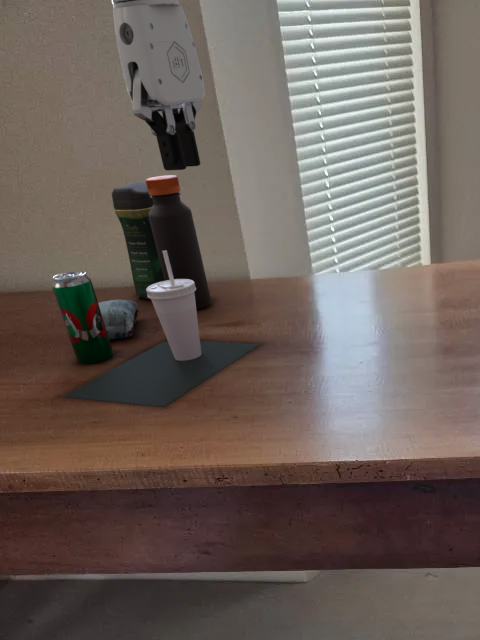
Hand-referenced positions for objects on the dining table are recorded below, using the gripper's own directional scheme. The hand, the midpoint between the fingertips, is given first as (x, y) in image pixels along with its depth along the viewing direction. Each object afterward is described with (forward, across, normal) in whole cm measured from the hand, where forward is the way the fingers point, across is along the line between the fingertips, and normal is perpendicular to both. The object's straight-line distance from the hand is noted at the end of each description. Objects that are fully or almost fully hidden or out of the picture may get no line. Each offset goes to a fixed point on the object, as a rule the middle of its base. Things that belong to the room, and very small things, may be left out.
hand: (182, 166), depth 95 cm
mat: (+23, -13, 0) cm, 27 cm away
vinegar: (+23, +15, +16) cm, 32 cm away
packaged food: (+23, -1, +20) cm, 31 cm away
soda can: (+23, -11, +14) cm, 29 cm away
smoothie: (+23, -8, 0) cm, 24 cm away
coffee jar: (+23, +22, +27) cm, 42 cm away
